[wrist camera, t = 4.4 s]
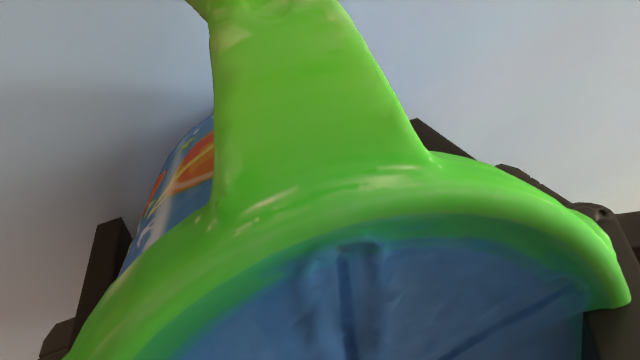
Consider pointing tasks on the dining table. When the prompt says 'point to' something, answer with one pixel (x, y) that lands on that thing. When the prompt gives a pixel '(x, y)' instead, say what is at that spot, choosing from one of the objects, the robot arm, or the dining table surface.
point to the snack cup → (339, 223)
